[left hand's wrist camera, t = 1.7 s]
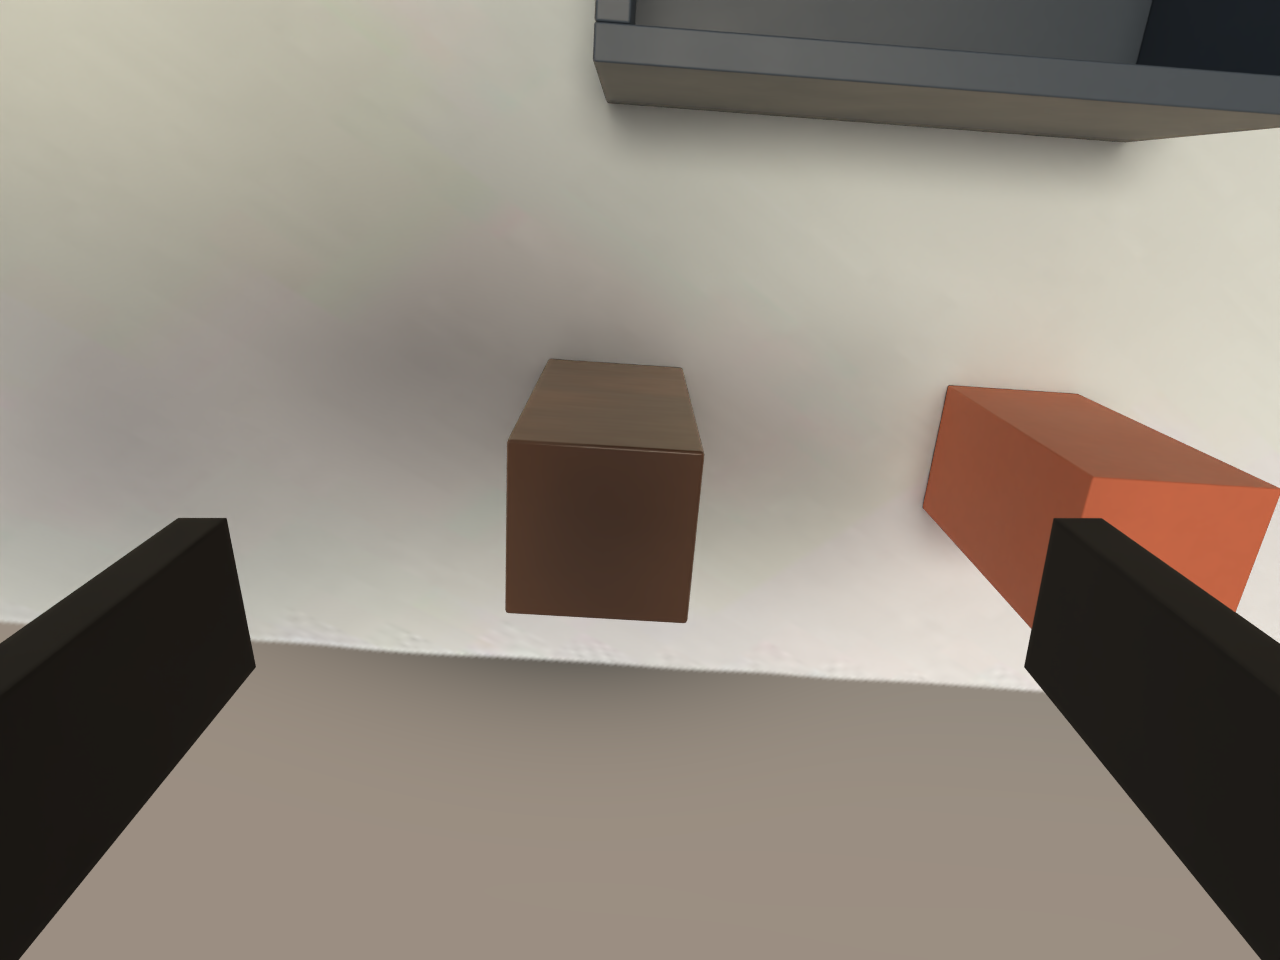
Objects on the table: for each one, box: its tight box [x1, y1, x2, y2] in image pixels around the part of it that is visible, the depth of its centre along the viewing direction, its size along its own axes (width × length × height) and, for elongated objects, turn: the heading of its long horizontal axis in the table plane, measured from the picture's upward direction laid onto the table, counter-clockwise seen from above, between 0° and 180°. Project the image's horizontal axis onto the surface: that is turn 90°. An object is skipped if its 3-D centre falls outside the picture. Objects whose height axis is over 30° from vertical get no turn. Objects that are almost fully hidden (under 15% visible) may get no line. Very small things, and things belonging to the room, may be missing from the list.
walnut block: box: [505, 359, 704, 623], centre depth 25 cm, size 5×5×10 cm
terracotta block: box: [923, 386, 1280, 629], centre depth 26 cm, size 5×5×10 cm
